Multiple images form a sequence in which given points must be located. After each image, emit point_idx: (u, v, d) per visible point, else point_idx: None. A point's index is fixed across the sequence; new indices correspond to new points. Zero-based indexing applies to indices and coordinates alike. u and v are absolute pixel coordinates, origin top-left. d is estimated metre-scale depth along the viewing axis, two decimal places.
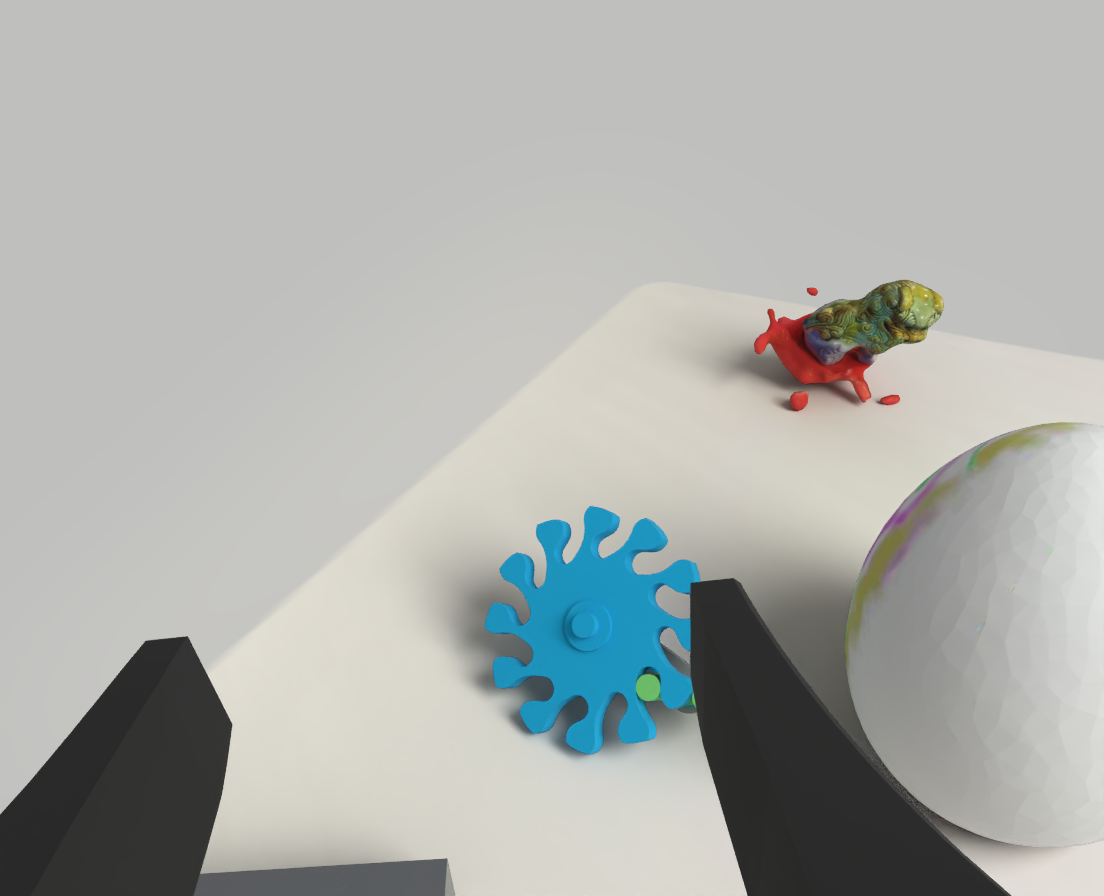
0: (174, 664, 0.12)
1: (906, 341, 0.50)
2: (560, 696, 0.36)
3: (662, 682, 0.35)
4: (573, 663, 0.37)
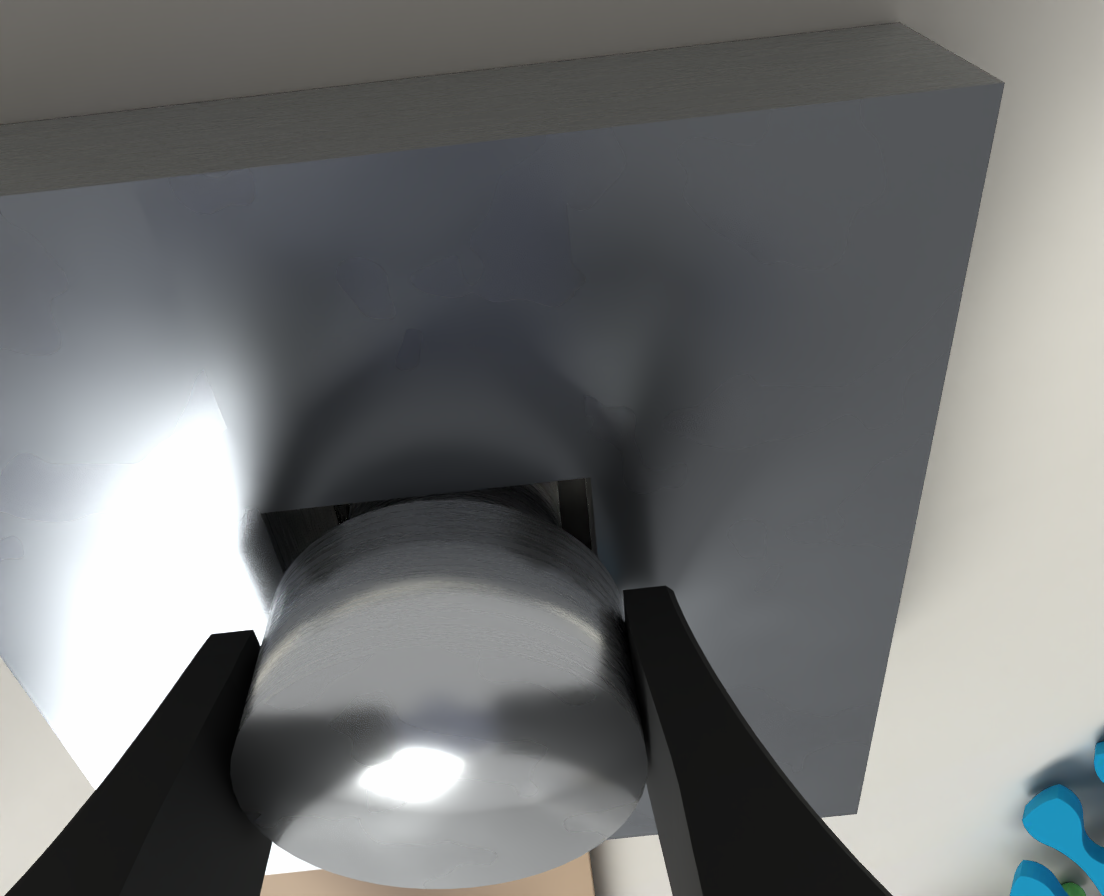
0: (243, 656, 0.12)
1: None
2: None
3: None
4: None
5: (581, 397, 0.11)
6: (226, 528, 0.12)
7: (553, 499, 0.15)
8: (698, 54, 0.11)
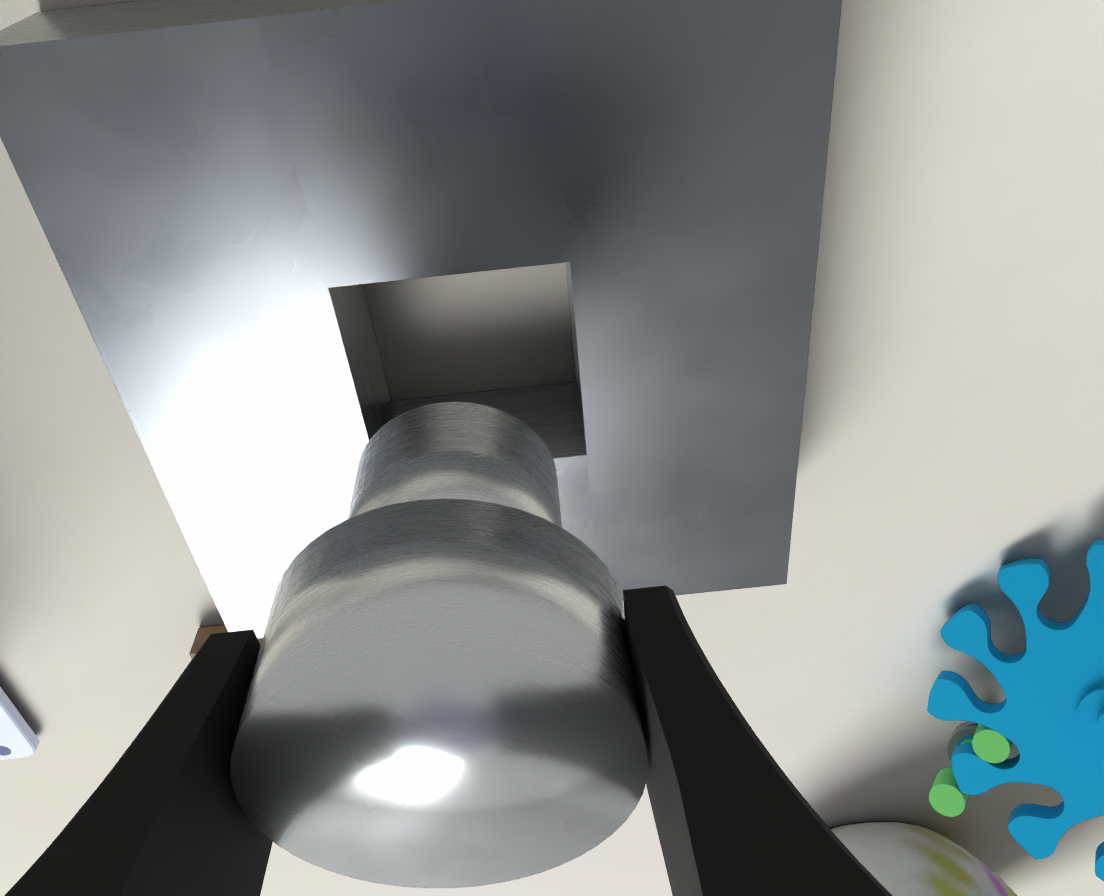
0: (243, 657, 0.12)
1: None
2: (1032, 632, 0.26)
3: (989, 766, 0.27)
4: (1072, 672, 0.25)
5: (562, 193, 0.16)
6: (303, 300, 0.17)
7: (553, 498, 0.15)
8: None
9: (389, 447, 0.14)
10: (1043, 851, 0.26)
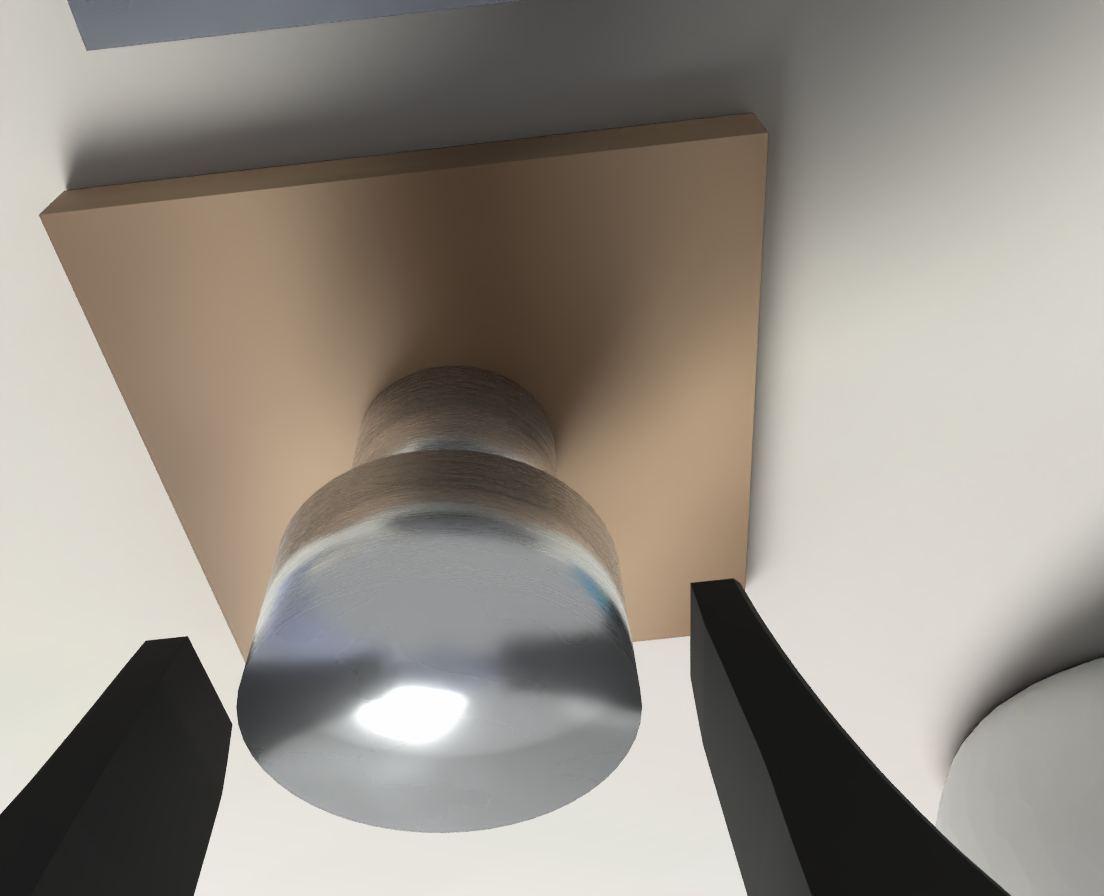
0: (174, 664, 0.12)
1: None
2: None
3: None
4: None
5: None
6: None
7: (552, 461, 0.15)
8: None
9: (393, 407, 0.15)
10: None
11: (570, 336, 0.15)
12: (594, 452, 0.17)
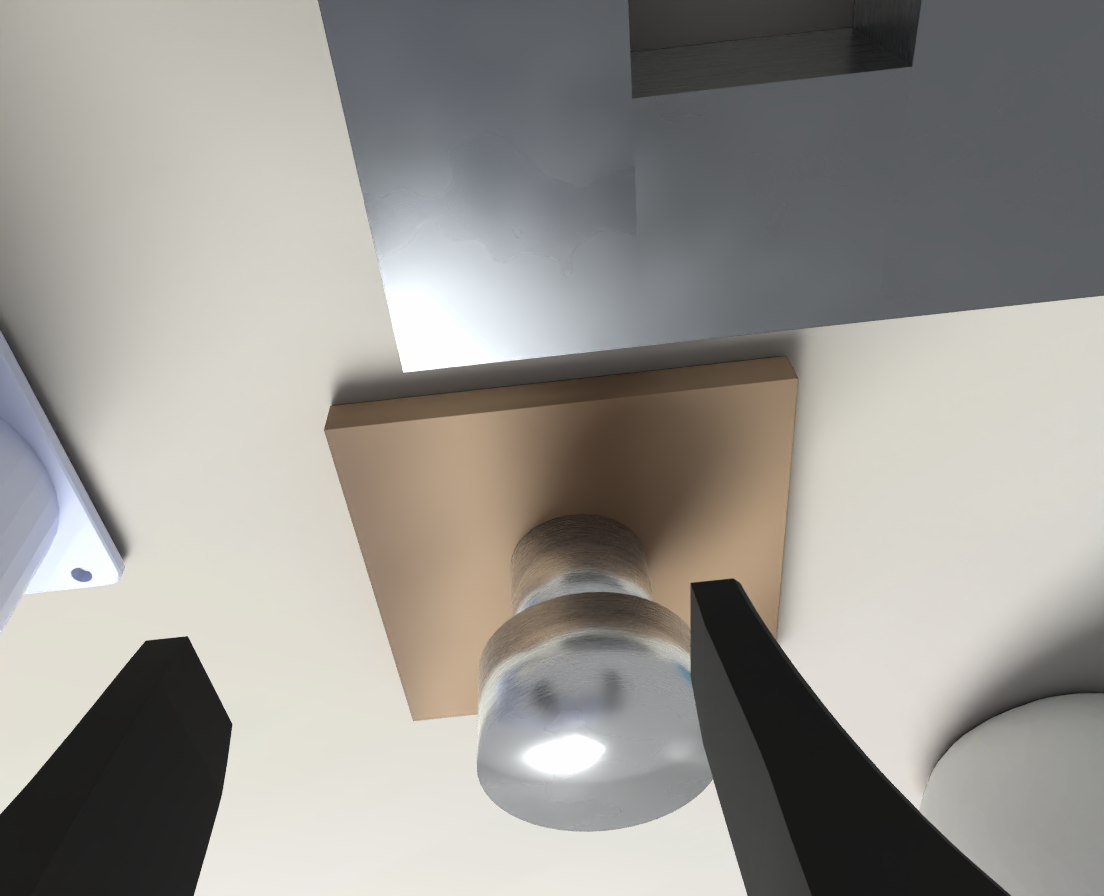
0: (174, 664, 0.12)
1: None
2: None
3: None
4: None
5: None
6: None
7: (649, 580, 0.22)
8: None
9: (543, 545, 0.22)
10: None
11: (661, 495, 0.22)
12: (672, 566, 0.24)
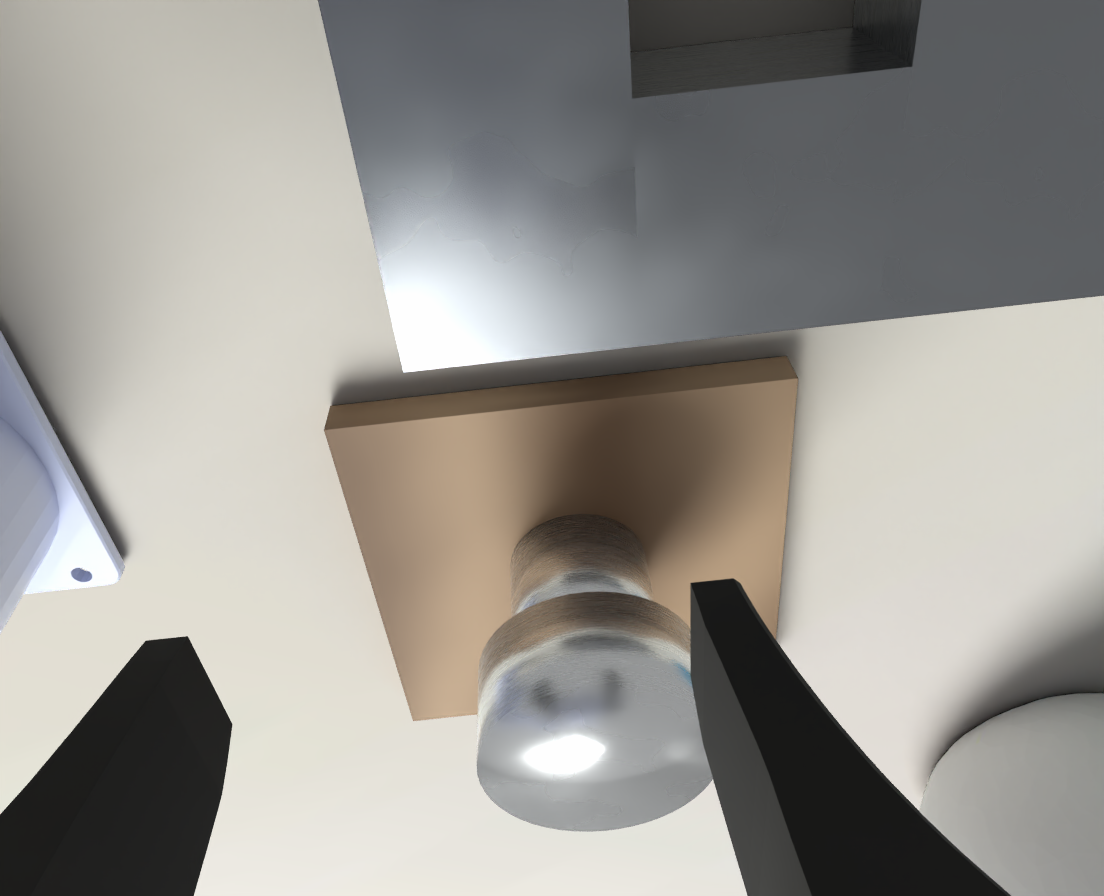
0: (174, 664, 0.12)
1: None
2: None
3: None
4: None
5: None
6: None
7: (649, 580, 0.22)
8: None
9: (543, 545, 0.22)
10: None
11: (661, 495, 0.22)
12: (672, 566, 0.24)
